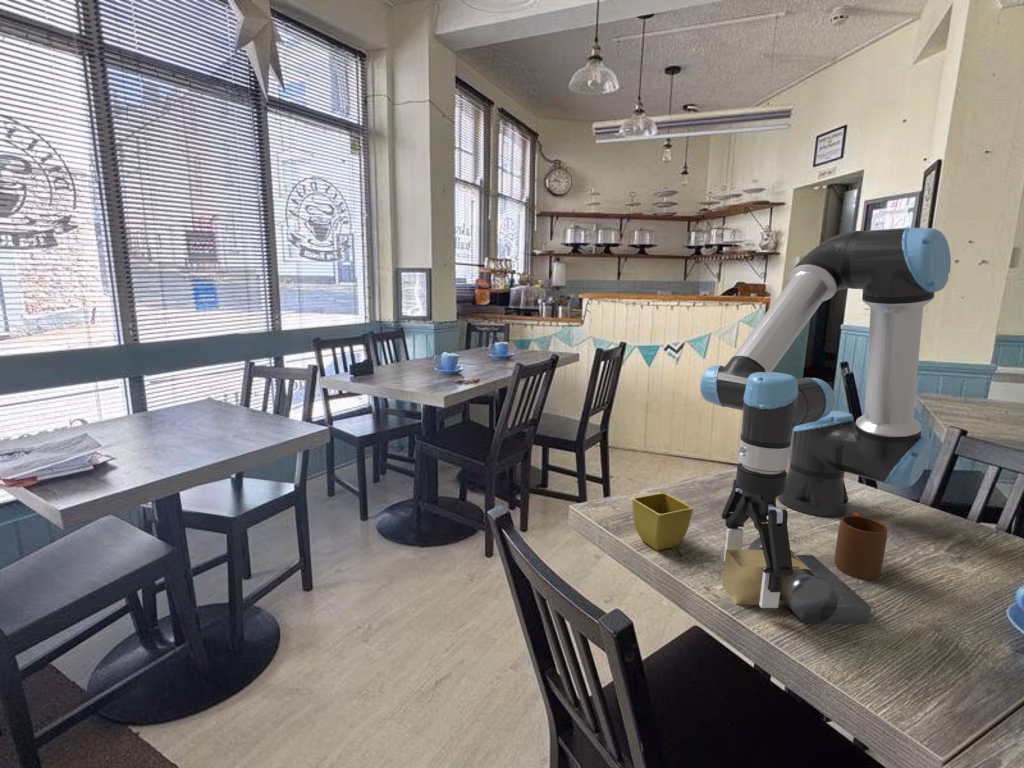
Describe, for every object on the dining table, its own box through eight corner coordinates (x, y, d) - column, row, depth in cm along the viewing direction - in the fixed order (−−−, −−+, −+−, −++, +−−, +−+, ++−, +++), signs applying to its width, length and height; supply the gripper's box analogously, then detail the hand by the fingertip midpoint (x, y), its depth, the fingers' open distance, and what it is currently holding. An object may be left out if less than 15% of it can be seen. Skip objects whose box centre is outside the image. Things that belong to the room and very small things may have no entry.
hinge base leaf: (810, 569, 101) (815, 535, 100) (868, 623, 86) (874, 583, 84) (745, 569, 101) (749, 535, 100) (791, 623, 85) (797, 583, 84)
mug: (829, 546, 111) (836, 503, 109) (873, 554, 107) (880, 511, 106) (835, 574, 100) (842, 527, 98) (883, 584, 97) (892, 536, 95)
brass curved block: (796, 585, 96) (801, 549, 95) (814, 604, 91) (820, 566, 89) (722, 585, 96) (726, 549, 94) (736, 604, 90) (740, 566, 89)
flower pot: (661, 530, 116) (664, 491, 114) (690, 549, 108) (694, 507, 107) (628, 538, 112) (631, 498, 111) (656, 558, 105) (659, 515, 103)
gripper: (709, 442, 100) (700, 546, 105) (779, 497, 76) (762, 629, 80) (749, 442, 101) (738, 546, 105) (830, 497, 76) (811, 629, 81)
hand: (748, 582), depth 93 cm, fingers open, 13 cm apart
